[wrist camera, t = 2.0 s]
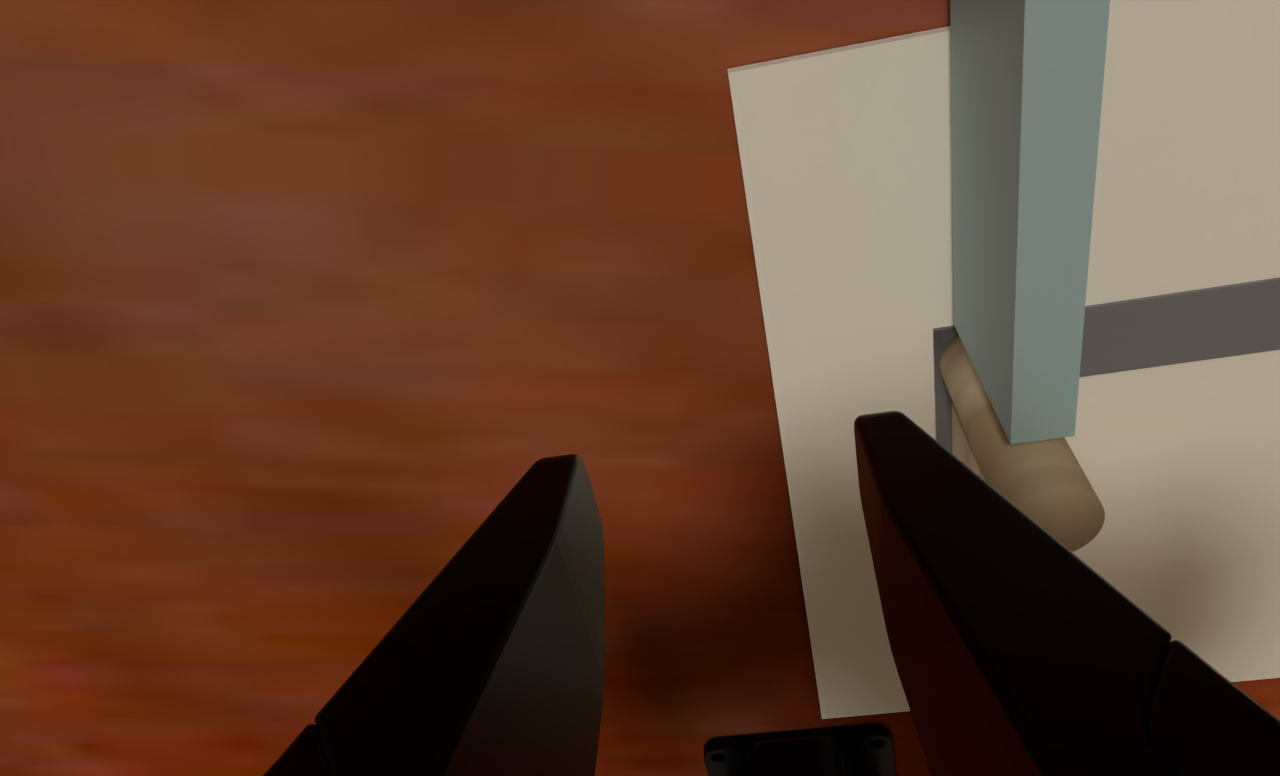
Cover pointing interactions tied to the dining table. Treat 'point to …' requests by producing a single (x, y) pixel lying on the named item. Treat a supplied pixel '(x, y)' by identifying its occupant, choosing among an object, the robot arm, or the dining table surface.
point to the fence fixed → (1019, 459)
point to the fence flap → (1025, 199)
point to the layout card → (1113, 322)
